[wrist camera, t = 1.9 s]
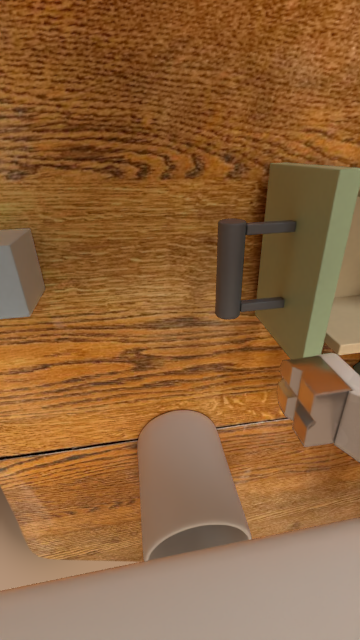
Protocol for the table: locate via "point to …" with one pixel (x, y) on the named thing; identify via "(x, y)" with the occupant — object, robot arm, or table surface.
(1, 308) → the block
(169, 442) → the mug
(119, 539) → the table surface
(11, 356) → the table surface
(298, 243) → the drawer
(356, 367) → the can
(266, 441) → the table surface
